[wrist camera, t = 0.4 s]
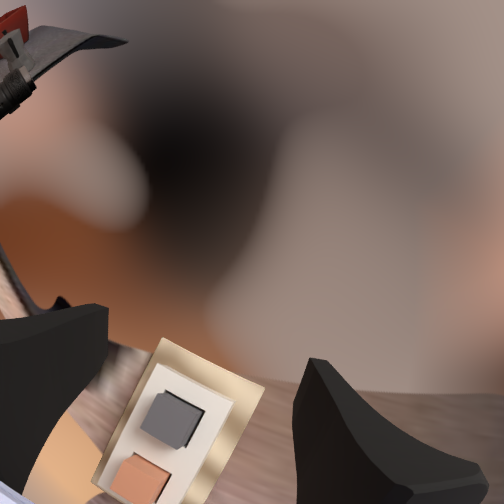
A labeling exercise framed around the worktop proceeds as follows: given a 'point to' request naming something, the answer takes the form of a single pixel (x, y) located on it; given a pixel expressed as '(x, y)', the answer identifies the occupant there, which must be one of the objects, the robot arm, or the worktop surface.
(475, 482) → the robot arm
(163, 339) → the birch board
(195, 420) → the grey cube
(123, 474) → the terracotta plunger
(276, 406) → the worktop surface
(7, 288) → the worktop surface
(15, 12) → the plant pot
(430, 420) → the worktop surface
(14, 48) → the coffeepot
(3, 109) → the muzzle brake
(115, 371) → the worktop surface
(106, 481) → the plunger panel
